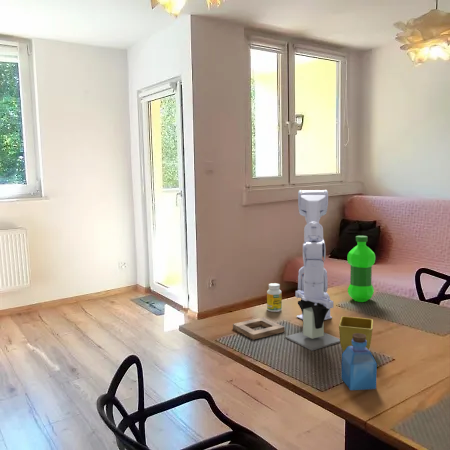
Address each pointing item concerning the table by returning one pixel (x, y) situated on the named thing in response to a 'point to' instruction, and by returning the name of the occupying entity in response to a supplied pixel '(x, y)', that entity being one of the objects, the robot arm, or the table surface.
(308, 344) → the charcoal mat
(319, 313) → the robot arm
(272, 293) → the supplement bottle
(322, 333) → the sage link block
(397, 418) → the table surface
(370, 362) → the perfume bottle
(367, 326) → the flower pot
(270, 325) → the wooden square frame
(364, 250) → the plastic bottle
